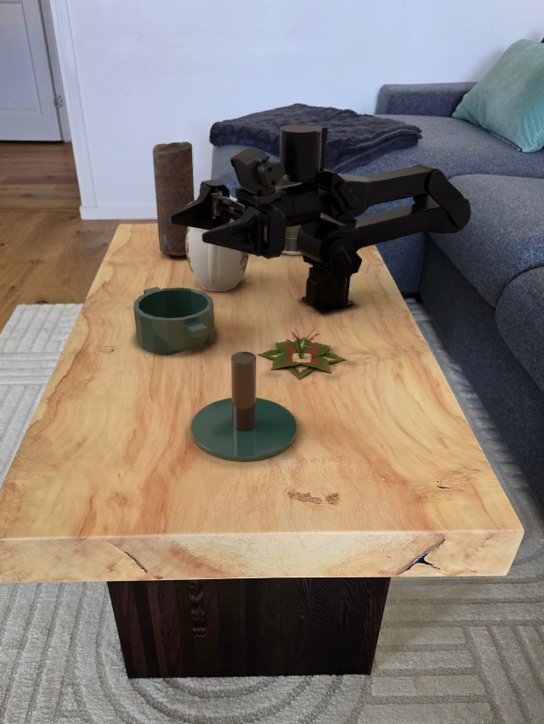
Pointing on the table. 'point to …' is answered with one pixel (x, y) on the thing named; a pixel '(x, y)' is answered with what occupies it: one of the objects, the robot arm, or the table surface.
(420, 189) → the robot arm
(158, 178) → the candle
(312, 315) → the table surface
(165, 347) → the pot
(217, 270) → the pitcher
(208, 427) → the lid
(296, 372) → the lily flower
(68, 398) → the table surface
